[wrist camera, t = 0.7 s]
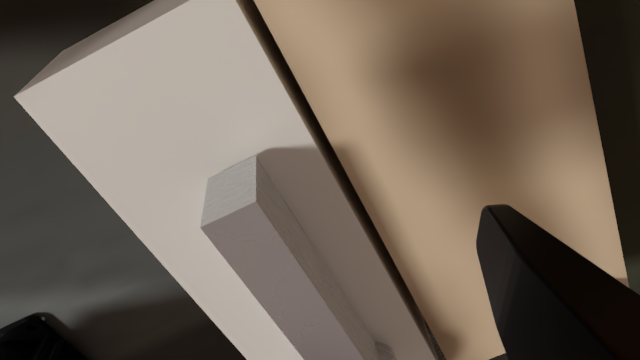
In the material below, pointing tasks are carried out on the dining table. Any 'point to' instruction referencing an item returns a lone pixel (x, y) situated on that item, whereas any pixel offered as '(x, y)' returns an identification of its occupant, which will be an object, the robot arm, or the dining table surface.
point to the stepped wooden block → (456, 135)
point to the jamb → (215, 159)
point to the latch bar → (283, 266)
